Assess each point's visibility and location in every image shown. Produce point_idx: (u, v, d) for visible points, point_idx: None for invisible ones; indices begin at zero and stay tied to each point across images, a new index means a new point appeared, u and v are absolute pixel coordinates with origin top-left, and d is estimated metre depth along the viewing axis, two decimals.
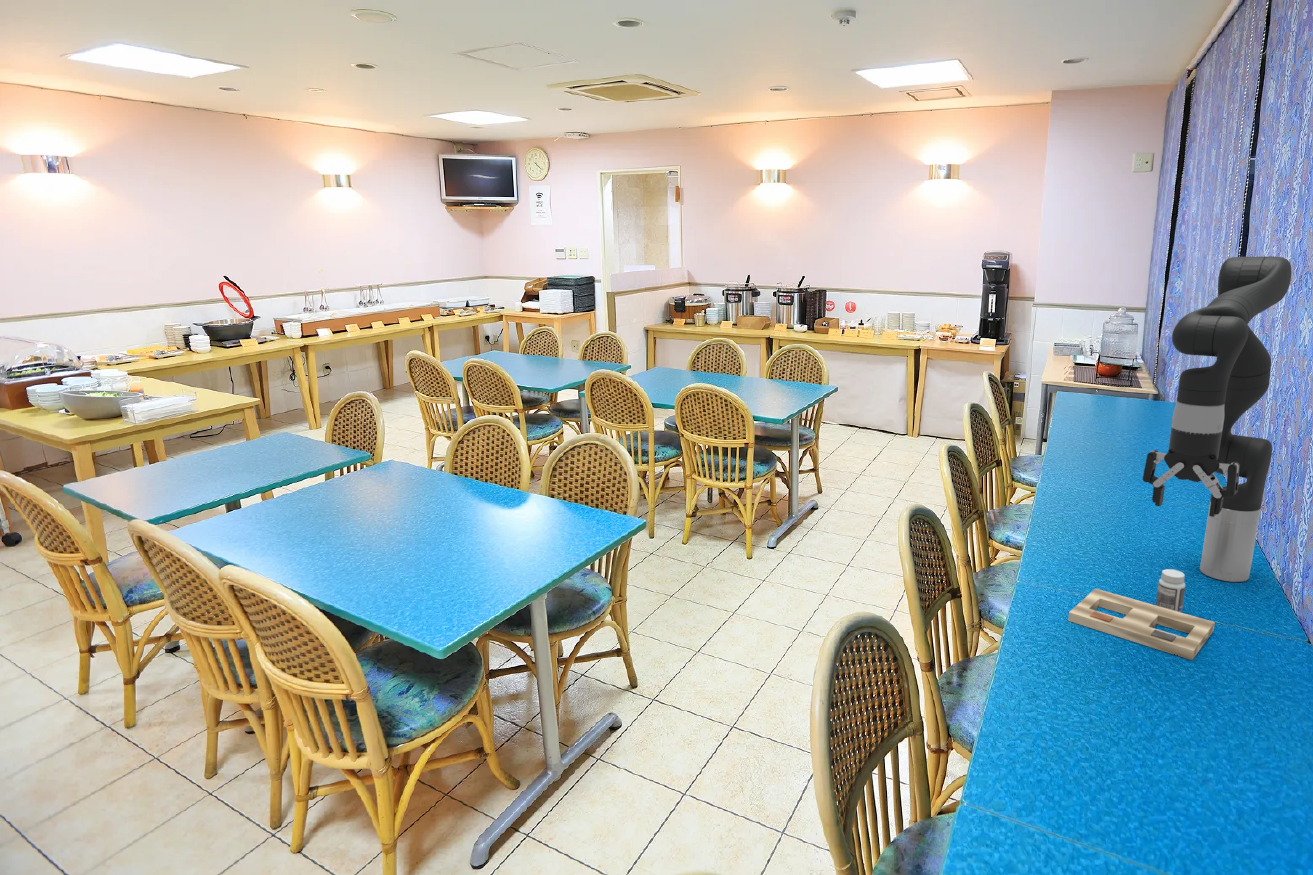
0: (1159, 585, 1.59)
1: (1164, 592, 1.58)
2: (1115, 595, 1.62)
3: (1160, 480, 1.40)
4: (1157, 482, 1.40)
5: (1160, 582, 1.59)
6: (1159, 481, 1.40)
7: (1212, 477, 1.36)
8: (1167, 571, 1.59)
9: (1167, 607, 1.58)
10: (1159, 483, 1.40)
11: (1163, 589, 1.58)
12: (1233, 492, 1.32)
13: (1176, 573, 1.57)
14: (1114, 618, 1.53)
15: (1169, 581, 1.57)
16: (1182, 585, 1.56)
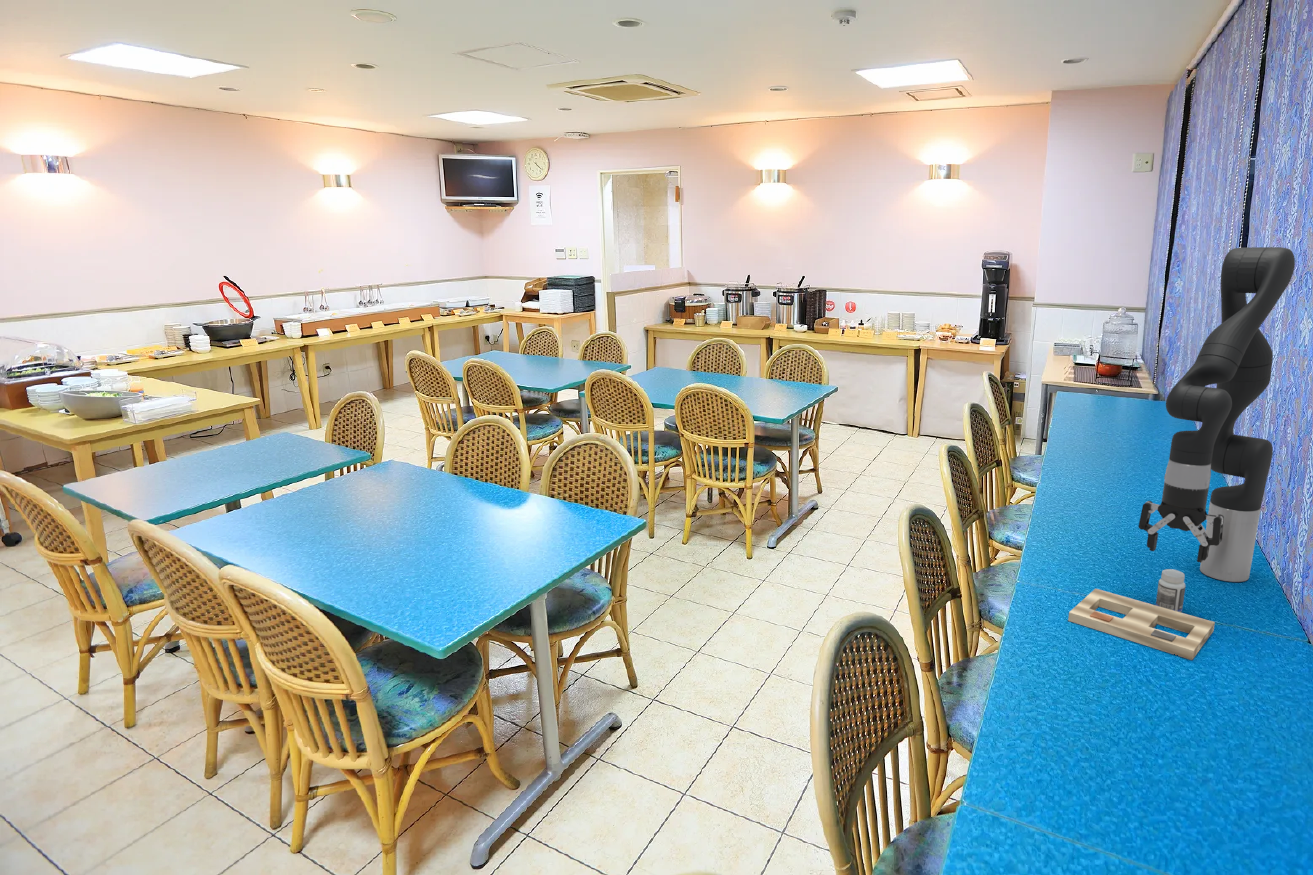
0: (1159, 585, 1.59)
1: (1164, 592, 1.58)
2: (1115, 595, 1.62)
3: (1154, 528, 1.57)
4: (1151, 530, 1.58)
5: (1160, 582, 1.59)
6: (1153, 529, 1.58)
7: (1200, 527, 1.53)
8: (1167, 571, 1.59)
9: (1167, 607, 1.58)
10: (1153, 531, 1.58)
11: (1163, 589, 1.58)
12: (1218, 541, 1.49)
13: (1176, 573, 1.57)
14: (1114, 618, 1.53)
15: (1169, 581, 1.57)
16: (1182, 585, 1.56)
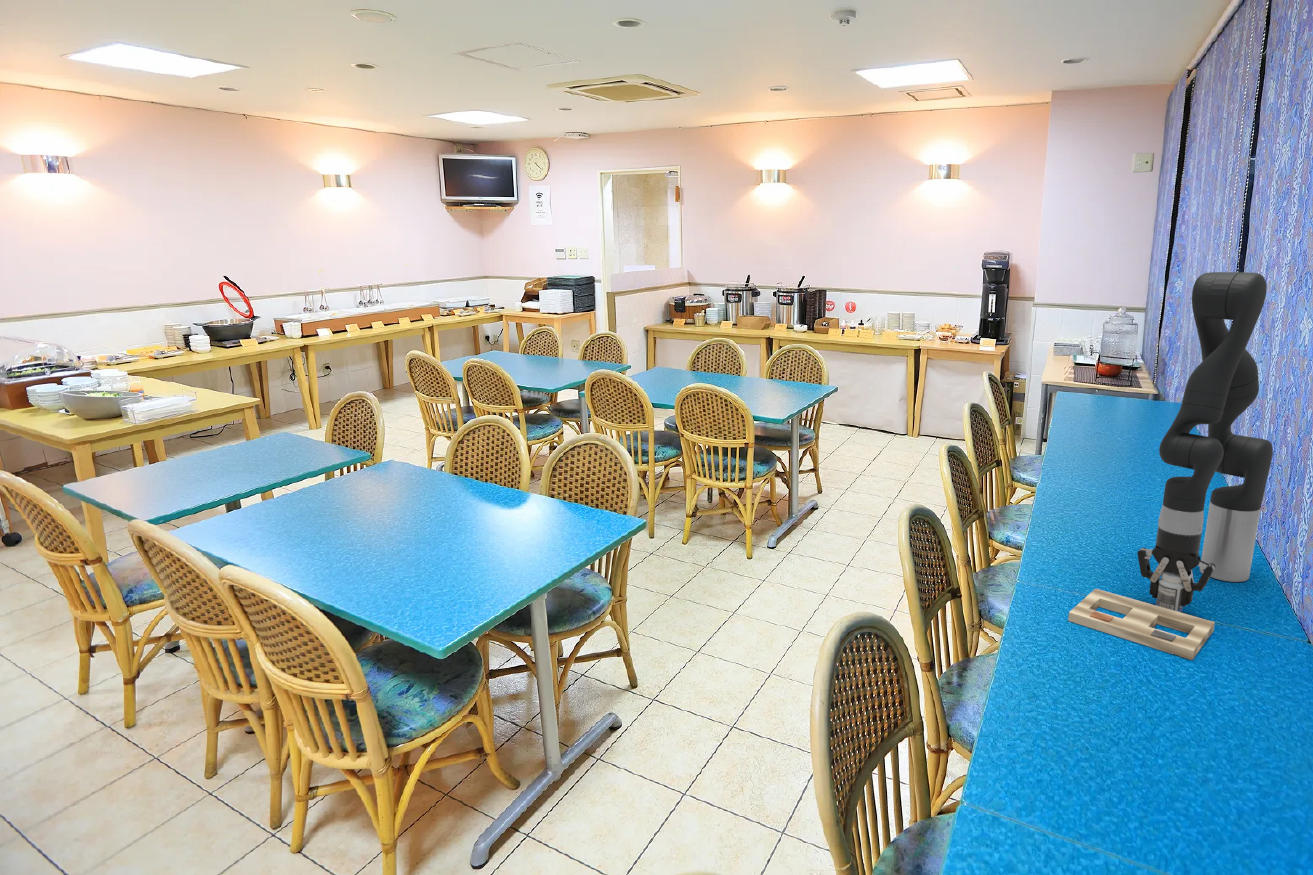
0: (1159, 585, 1.59)
1: (1164, 592, 1.58)
2: (1115, 595, 1.62)
3: (1156, 576, 1.59)
4: (1154, 578, 1.60)
5: (1160, 582, 1.59)
6: (1155, 577, 1.59)
7: (1189, 572, 1.56)
8: None
9: (1167, 607, 1.58)
10: (1155, 579, 1.59)
11: (1164, 589, 1.58)
12: (1201, 588, 1.53)
13: None
14: (1114, 618, 1.53)
15: (1169, 581, 1.57)
16: (1182, 585, 1.56)
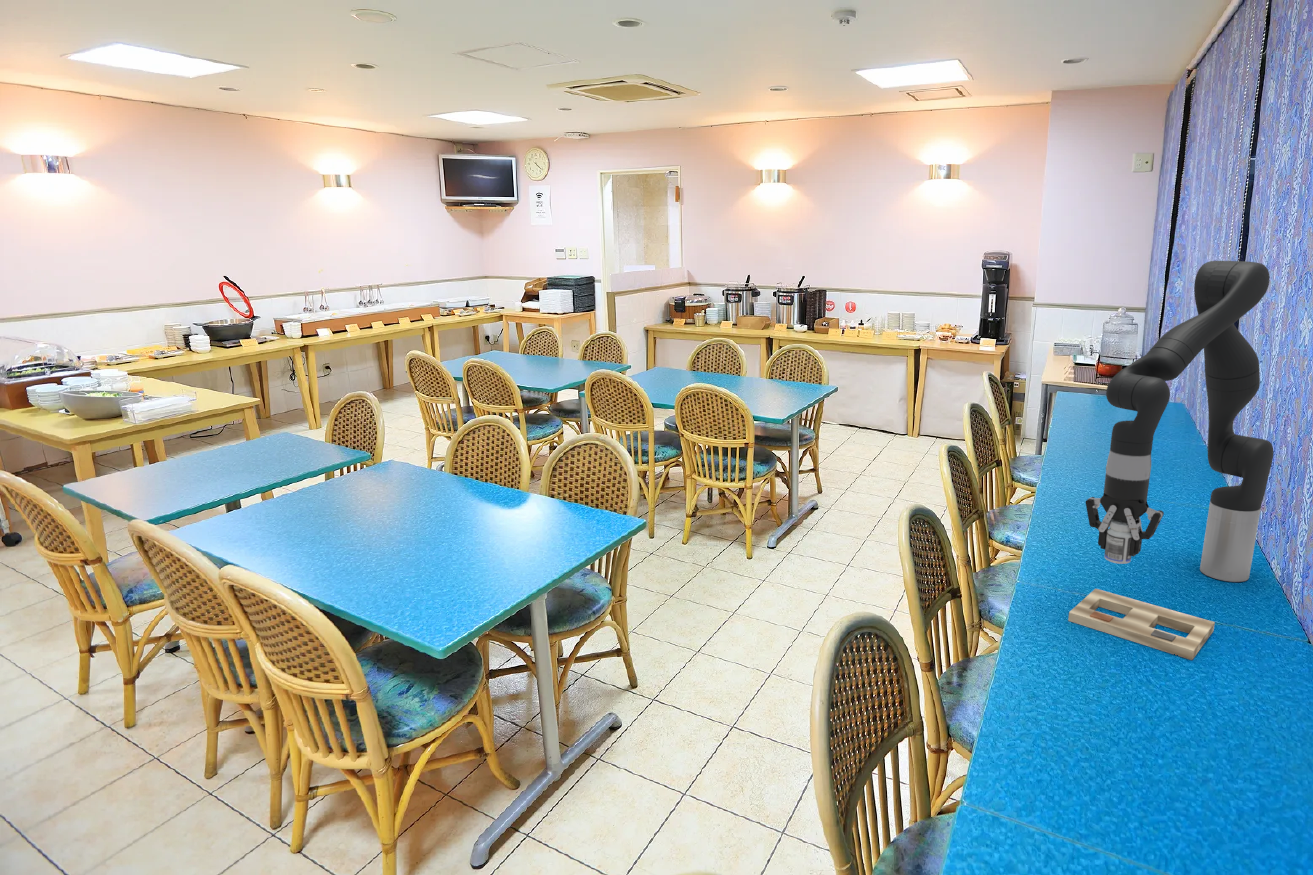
0: (1107, 535, 1.53)
1: (1112, 541, 1.52)
2: (1115, 595, 1.62)
3: (1104, 526, 1.54)
4: (1102, 527, 1.54)
5: (1108, 531, 1.53)
6: (1104, 526, 1.54)
7: (1137, 520, 1.51)
8: (1115, 520, 1.53)
9: (1115, 557, 1.52)
10: (1104, 528, 1.54)
11: (1111, 538, 1.52)
12: (1149, 536, 1.48)
13: (1124, 522, 1.52)
14: (1114, 618, 1.53)
15: (1117, 530, 1.51)
16: (1130, 534, 1.51)
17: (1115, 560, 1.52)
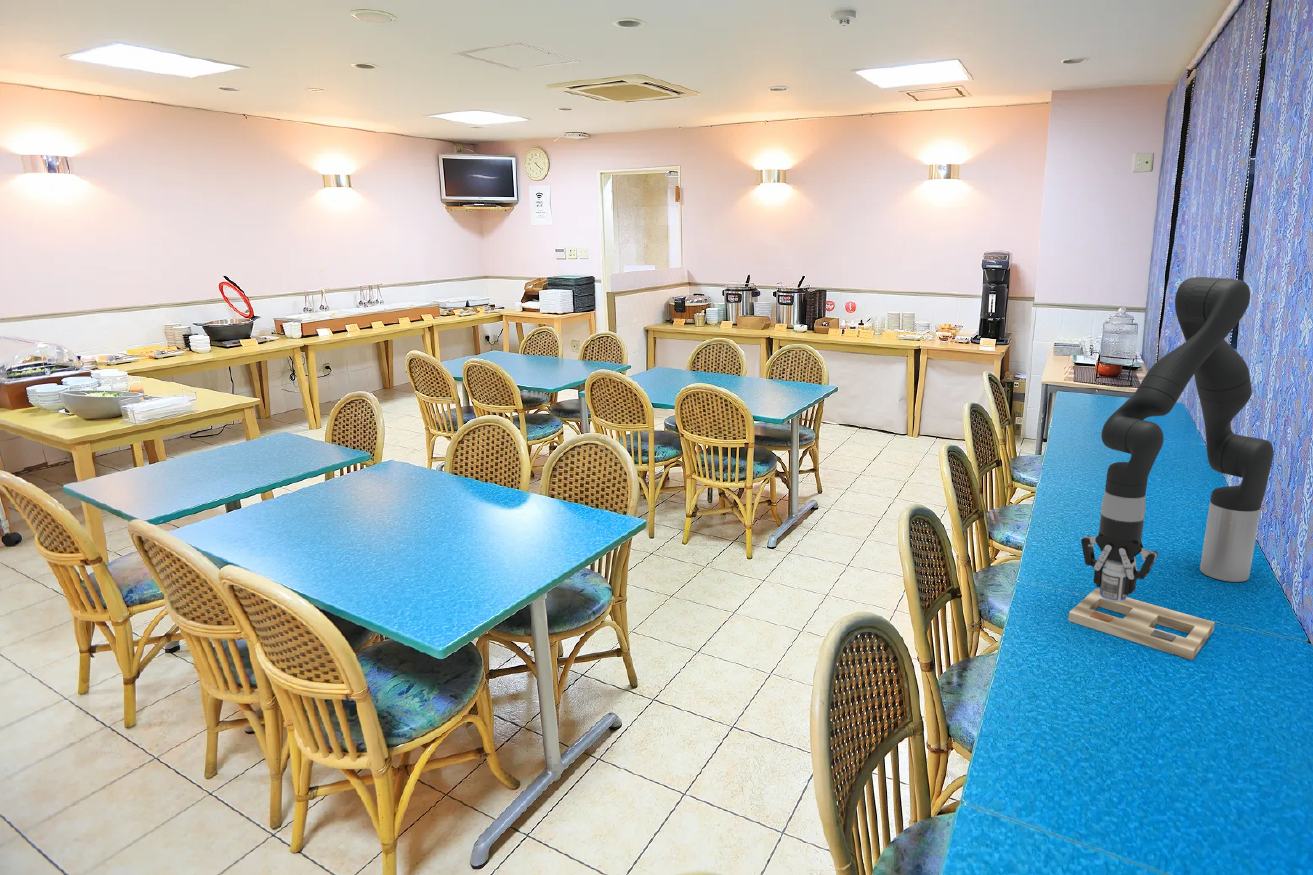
0: (1102, 573, 1.56)
1: (1107, 580, 1.54)
2: None
3: (1100, 564, 1.56)
4: (1097, 566, 1.56)
5: (1103, 570, 1.55)
6: (1099, 565, 1.56)
7: (1132, 560, 1.53)
8: (1110, 559, 1.55)
9: (1110, 596, 1.54)
10: (1099, 567, 1.56)
11: (1107, 577, 1.54)
12: (1144, 576, 1.50)
13: None
14: (1114, 618, 1.53)
15: (1112, 569, 1.53)
16: (1125, 573, 1.53)
17: (1110, 598, 1.55)
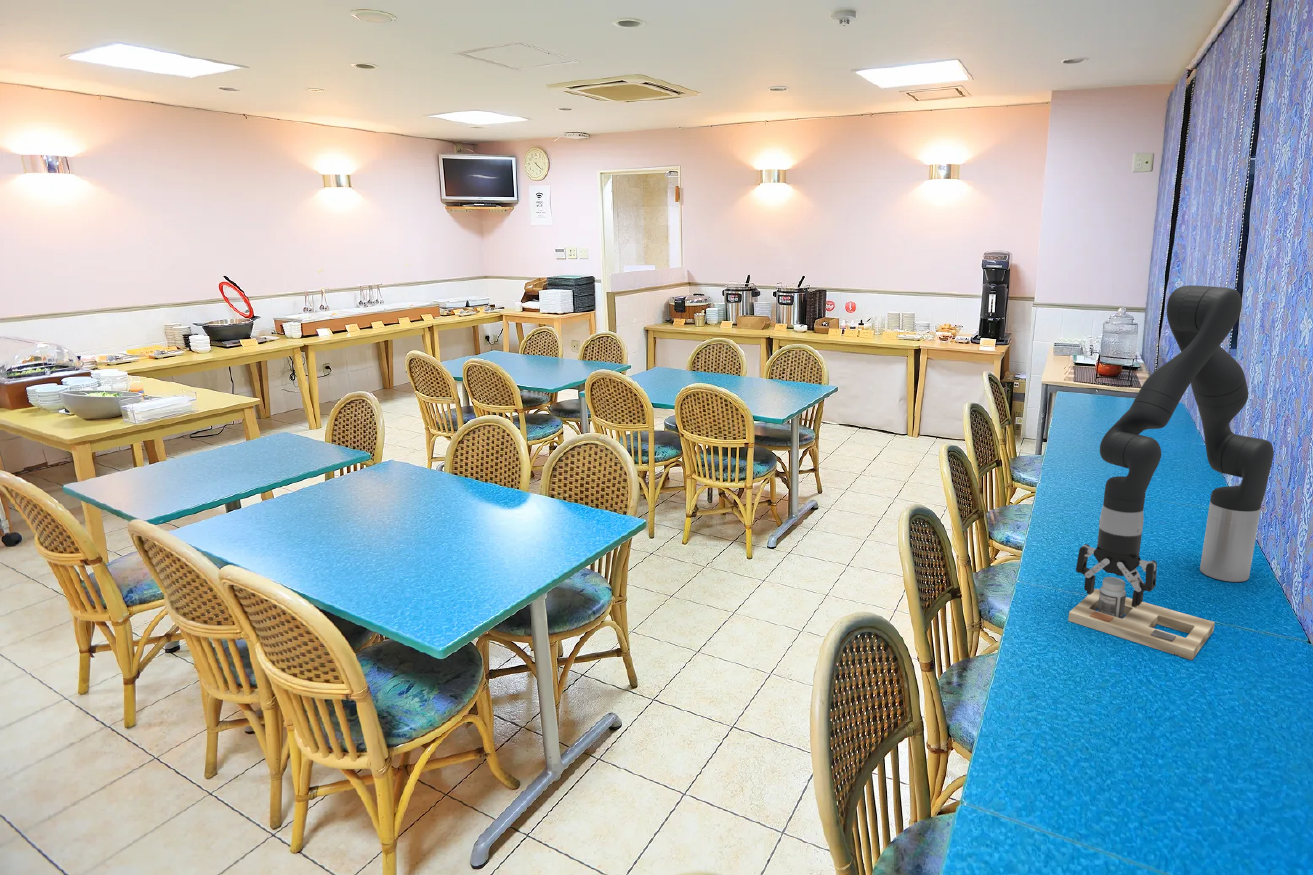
0: (1100, 593, 1.57)
1: (1104, 600, 1.56)
2: None
3: (1090, 572, 1.58)
4: (1088, 573, 1.58)
5: (1101, 590, 1.57)
6: (1089, 573, 1.58)
7: (1135, 572, 1.53)
8: (1108, 578, 1.56)
9: None
10: (1090, 574, 1.58)
11: (1104, 597, 1.56)
12: (1151, 587, 1.49)
13: (1117, 581, 1.55)
14: (1114, 618, 1.53)
15: (1109, 589, 1.55)
16: (1122, 593, 1.54)
17: None
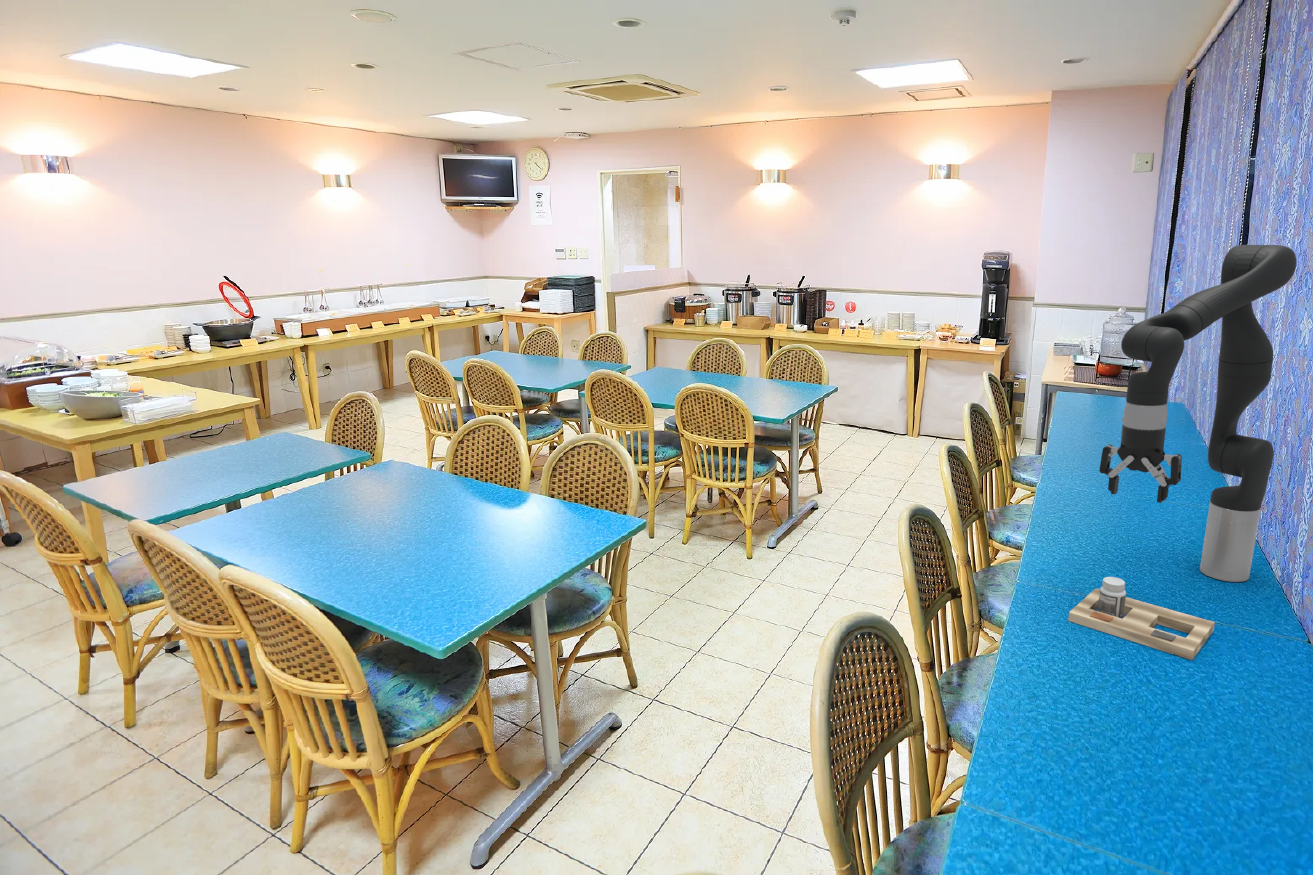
0: (1100, 593, 1.57)
1: (1104, 600, 1.56)
2: None
3: (1114, 471, 1.58)
4: (1112, 473, 1.58)
5: (1101, 590, 1.57)
6: (1113, 472, 1.58)
7: (1159, 468, 1.53)
8: (1108, 578, 1.57)
9: None
10: (1113, 474, 1.58)
11: (1104, 597, 1.56)
12: (1176, 481, 1.50)
13: (1117, 581, 1.55)
14: (1114, 618, 1.53)
15: (1109, 589, 1.55)
16: (1122, 593, 1.54)
17: None
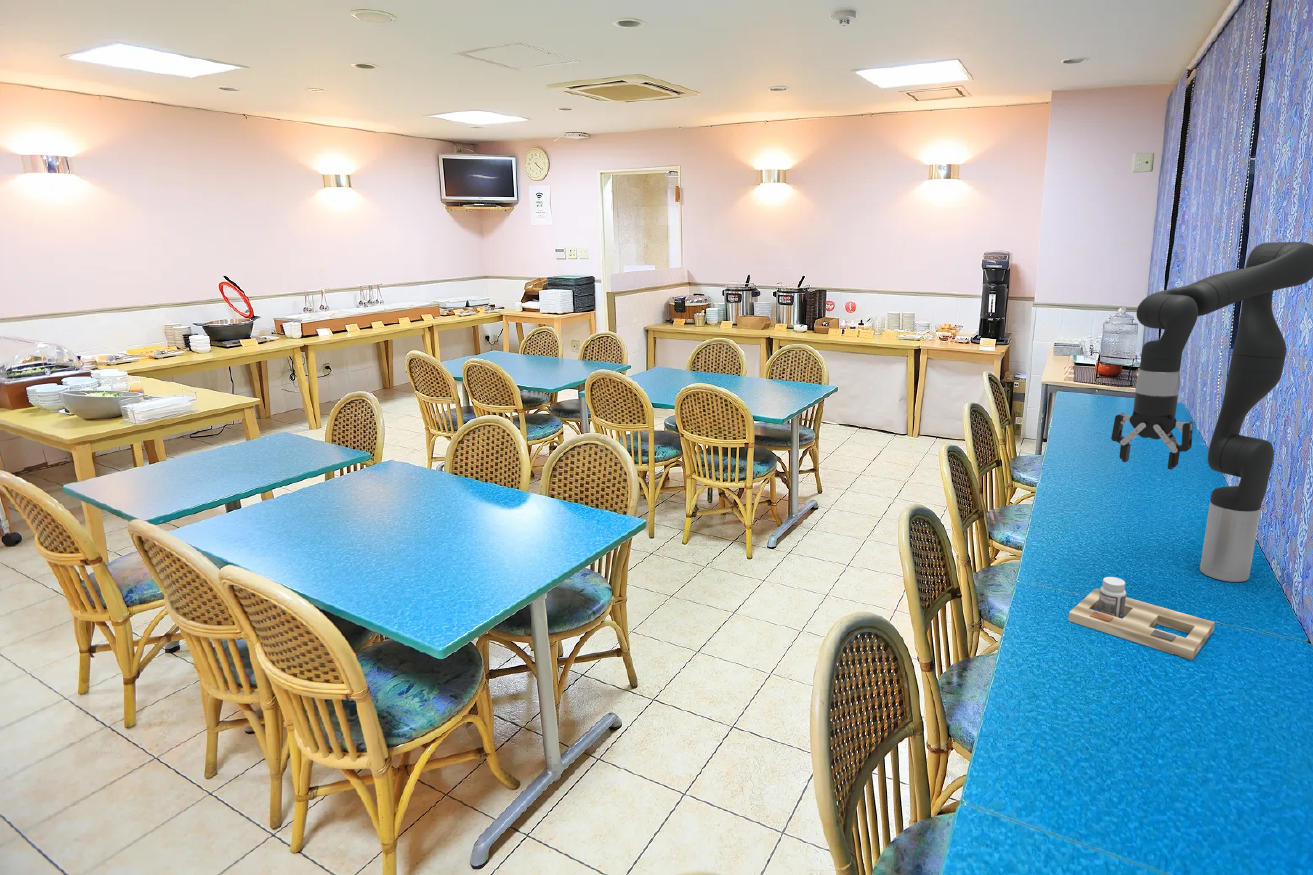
0: (1100, 593, 1.57)
1: (1105, 600, 1.56)
2: None
3: (1126, 439, 1.61)
4: (1123, 441, 1.61)
5: (1101, 590, 1.56)
6: (1125, 440, 1.61)
7: (1170, 435, 1.56)
8: (1108, 579, 1.56)
9: None
10: (1125, 441, 1.61)
11: (1104, 597, 1.56)
12: (1187, 447, 1.53)
13: (1117, 581, 1.55)
14: (1114, 618, 1.53)
15: (1110, 589, 1.55)
16: (1123, 593, 1.54)
17: None
